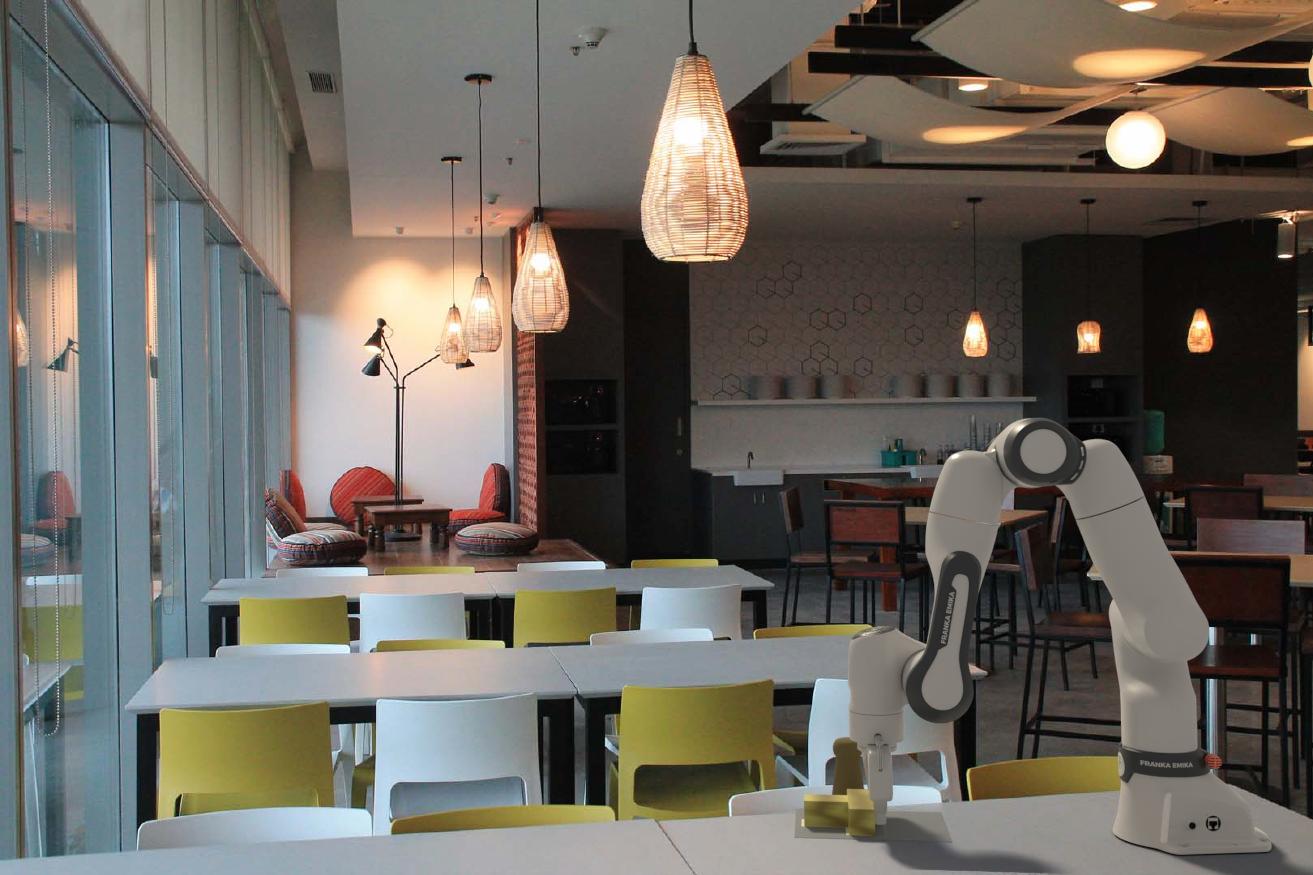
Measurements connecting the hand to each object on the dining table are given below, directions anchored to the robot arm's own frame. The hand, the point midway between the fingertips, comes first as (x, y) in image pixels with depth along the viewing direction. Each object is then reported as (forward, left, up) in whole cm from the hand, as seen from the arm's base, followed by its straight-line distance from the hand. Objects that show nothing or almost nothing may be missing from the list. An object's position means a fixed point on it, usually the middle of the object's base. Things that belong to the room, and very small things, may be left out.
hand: (878, 814), depth 193 cm
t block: (+6, 0, -2) cm, 7 cm away
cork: (+4, -17, -3) cm, 18 cm away
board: (+1, 0, -3) cm, 3 cm away
